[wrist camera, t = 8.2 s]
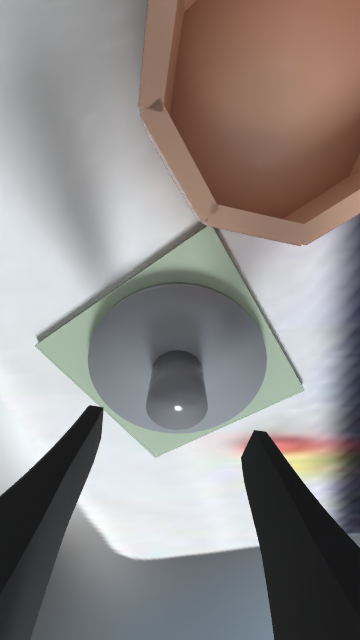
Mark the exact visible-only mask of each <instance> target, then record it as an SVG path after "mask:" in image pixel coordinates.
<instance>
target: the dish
mask: <svg viewBox="0 0 360 640" xmlns="http://www.w3.org/2000/svg"><path fill="white" fill-rule="evenodd" d="M138 107H139V110H140V112H141V114H140V117H141V119H142V121H143V124H144V126H145V129H146V131H147V133H148V136H149V138H150V140H151V142H152V143H153V145H154V147H155V148H156V150H157V152H158V154H159V155H160V157H161V159H162V160H163V162H164V164H165V166H166V167H167V169H168V171H169V172H170V174H171V176H172V178H173V180H174V182H175V184H176V186H177V187H178V189H179V190H180V192H181V193H182V195H183V196H184V198H185V200H186V202H187V203H188V205H189V207H190V209H191V210H192V212H193V214H194V215H195V217H196V219H197V220H198V221H200V222H201V223H202V224H204V225H206V226H210V227H214V228H219V229H224V230H228V231H233V232H237V233H242V234H246V235H251V236H256V237H260V238H265V239H269V240H274V241H278V242H283V243H288V244H292V245H297V246H301V244H303V245H308V244H309V243H311V242H313V241H314V240H316V239H318V238H319V237H321V236H323V235H324V234H326V233H328V232H329V231H331V230H333V229H334V228H336V227H338V226H339V225H341V224H343V223H344V222H346V221H348V220H349V219H351V218H353V217H354V216H356V215H358V214H359V213H360V0H148V9H147V19H146V30H145V40H144V50H143V61H142V71H141V82H140V92H139V102H138Z"/></svg>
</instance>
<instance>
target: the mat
mask: <svg viewBox="0 0 360 640" xmlns="http://www.w3.org/2000/svg"><path fill="white" fill-rule="evenodd" d="M169 282H185V283H193V284H199V285H202V286H206V287H210V288H212V289H214V290H217V291H219V292H221V293H223V294H225V295H227V296H228V297H230V298H232V299H233V300H234V301H235V302H237V303H238V304H239V305H240V306H241V307H242V308H243V309H244V310H245V311H246V312H247V313H248V314H249V316H250V317H251V318H252V320H253V321H254V323H255V324H256V326H257V327H258V329H259V331H260V333H261V335H262V337H263V340H264V344H265V347H266V354H267V368H266V373H265V377H264V380H263V383H262V386H261V387H260V389H259V391H258V393H257V395H256V396H255V397H254V399H253V400H252V402H251V403H250V404H249V405H248V406H247V407H246V408H245V409H244V410H243V411H241V412H240V413H239V414H238V415H236V416H235V417H233V418H232V419H230V420H229V421H227V422H225V423H223V424H221V425H218V426H216V427H213V428H211V429H207V430H204V431H199V432H193V433H183V434H172V433H162V432H157V431H152V430H148V429H145V428H142V427H139V426H137V425H134V424H132V423H130V422H129V421H127V420H125V419H123V418H122V417H120V416H119V415H117V414H116V413H115V412H114V411H113V410H111V409H110V408H109V407H108V406H107V405H106V404H105V402H104V401H103V400H102V399H101V397H100V396H99V395H98V393H97V391H96V389H95V387H94V386H93V383H92V380H91V378H90V374H89V369H88V351H89V345H90V342H91V339H92V336H93V334H94V332H95V330H96V328H97V326H98V325H99V323H100V322H101V321H102V319H103V318H104V316H105V315H106V314H107V312H108V311H109V310H110V309H111V308H112V307H113V306H114V305H115V304H116V303H118V302H119V301H120V300H122V299H123V298H124V297H126V296H128V295H129V294H131V293H133V292H135V291H137V290H140V289H142V288H145V287H148V286H152V285H156V284H161V283H169ZM35 347H36V348H37V349H38V350H40V351H41V352H42V353H43V354H44V355H45V356H46V357H47V358H48V359H49V360H50V361H51V362H53V363H54V364H55V365H56V366H57V367H58V368H59V369H60V370H61V371H62V372H63V373H64V374H65V375H67V376H68V377H69V378H70V379H71V380H72V381H73V382H74V383H75V384H76V385H77V386H78V387H80V388H81V389H82V390H83V391H84V392H85V393H86V394H87V395H88V396H89V397H90V398H91V399H92V400H94V401H95V402H96V403H97V404H98V405H99V406H100V407H104V409H103V410H104V411H105V412H107V413H108V414H109V415H110V416H111V417H112V418H113V419H114V420H115V421H116V422H117V423H118V424H120V425H121V426H122V427H123V428H124V429H125V430H126V431H127V432H128V433H129V434H130V435H131V436H132V437H134V438H135V439H136V440H137V441H138V442H139V443H140V444H141V445H142V446H143V447H144V448H145V449H147V450H148V451H149V452H150V453H151V454H152V455H153V456H154V457H155V458H156V457H158V456H160V455H162V454H164V453H167V452H169V451H171V450H173V449H176V448H178V447H180V446H182V445H184V444H187V443H189V442H191V441H193V440H196V439H198V438H200V437H202V436H204V435H207V434H209V433H211V432H213V431H215V430H218V429H220V428H222V427H224V426H227V425H229V424H231V423H233V422H235V421H238V420H240V419H242V418H244V417H247V416H249V415H251V414H253V413H255V412H258V411H260V410H262V409H264V408H267V407H269V406H271V405H273V404H275V403H278V402H280V401H282V400H284V399H287V398H289V397H291V396H293V395H295V394H298V393H300V392H302V391H304V388H303V386H302V385H301V383H300V381H299V379H298V378H297V376H296V374H295V372H294V370H293V369H292V367H291V365H290V363H289V362H288V360H287V358H286V356H285V354H284V353H283V351H282V349H281V347H280V346H279V344H278V342H277V340H276V339H275V337H274V335H273V333H272V331H271V330H270V328H269V326H268V324H267V323H266V321H265V319H264V317H263V315H262V314H261V312H260V310H259V308H258V307H257V305H256V303H255V301H254V299H253V298H252V296H251V294H250V292H249V291H248V289H247V287H246V285H245V283H244V282H243V280H242V278H241V276H240V275H239V273H238V271H237V269H236V268H235V266H234V264H233V262H232V260H231V259H230V257H229V255H228V253H227V252H226V250H225V248H224V246H223V244H222V243H221V241H220V239H219V237H218V236H217V234H216V232H215V230H214V228H213V227H210V226H206V227H204V228H203V229H201V230H200V231H198V232H197V233H196V234H194V235H193V236H191V237H190V238H188V239H187V240H185V241H184V242H183V243H181V244H180V245H178V246H177V247H175V248H174V249H172V250H171V251H170V252H168V253H167V254H165V255H164V256H162V257H161V258H160V259H158V260H157V261H155V262H154V263H152V264H151V265H149V266H148V267H147V268H145V269H144V270H142V271H141V272H139V273H138V274H136V275H135V276H134V277H132V278H131V279H129V280H128V281H126V282H125V283H124V284H122V285H121V286H119V287H118V288H116V289H115V290H113V291H112V292H111V293H109V294H108V295H106V296H105V297H103V298H102V299H100V300H99V301H98V302H96V303H95V304H93V305H92V306H90V307H89V308H88V309H86V310H85V311H83V312H82V313H80V314H79V315H77V316H76V317H75V318H73V319H72V320H70V321H69V322H67V323H66V324H64V325H63V326H62V327H60V328H59V329H57V330H56V331H54V332H53V333H52V334H50V335H49V336H47V337H46V338H44V339H43V340H41V341H40V342H39V343H37V344H36V345H35Z"/></svg>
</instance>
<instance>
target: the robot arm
mask: <svg viewBox="0 0 360 640" xmlns="http://www.w3.org/2000/svg"><path fill="white" fill-rule="evenodd" d="M103 409H104V407H98V406H91V405H90V406H88V407H87V408H86V410H85V411H84V412H83V414H82V415H81V416H80V417H79V418H78V420H77V421H76V422H75V423H74V424H73V426H72V427H71V428H70V429H69V430H68V431H67V432H66V433H65V435H64V436H63V437H62V438H61V439H60V440H59V441H58V442H57V443H56V444H55V445H54V446H53V447H52V448H51V449H50V450H49V451H48V452H47V453H46V454H45V455H44V456H43V457H42V458H41V459H40V460H39V461H38V462H37V463H36V464H35V465H34V466H33V467H32V468H31V469H30V470H29V471H28V472H27V473H26V474H25V475H24V476H23V477H21V478H20V479H19V480H18V481H17V482H16V483H15V484H14V485H12V486H11V487H10V488H9V489H8V490H7V491H6V492H5V493H3V494H2V495H1V496H0V640H30V638H31V635H32V632H33V628H34V626H35V622H36V619H37V616H38V613H39V610H40V607H41V603H42V600H43V597H44V594H45V591H46V587H47V585H48V582H49V579H50V576H51V572H52V569H53V566H54V563H55V560H56V557H57V554H58V551H59V548H60V545H61V542H62V539H63V536H64V533H65V531H66V528H67V525H68V523H69V520H70V518H71V515H72V513H73V511H74V508H75V506H76V503H77V501H78V499H79V496H80V494H81V491H82V489H83V487H84V484H85V482H86V479H87V477H88V475H89V472H90V470H91V467H92V465H93V462H94V459H95V456H96V453H97V450H98V446H99V443H100V440H101V433H102V421H103ZM241 461H242V470H243V477H244V483H245V487H246V491H247V496H248V500H249V504H250V508H251V512H252V516H253V520H254V524H255V528H256V532H257V536H258V540H259V545H260V550H261V554H262V559H263V566H264V572H265V578H266V584H267V591H268V597H269V604H270V611H271V617H272V625H273V633H274V640H360V548H359V547H358V546H357V544H356V543H355V542H354V541H353V540H352V539H351V538H350V537H349V536H348V535H347V534H346V533H345V531H344V530H343V529H342V528H341V527H340V526H339V525H338V524H337V523H336V521H335V520H334V519H333V518H332V517H331V516H330V515H329V513H328V512H327V511H326V510H325V509H324V508H323V506H322V505H321V504H320V503H319V501H318V500H317V499H316V498H315V497H314V495H313V494H312V493H311V492H310V490H309V489H308V488H307V487H306V485H305V484H304V483H303V481H302V480H301V479H300V477H299V476H298V475H297V473H296V472H295V471H294V469H293V468H292V467H291V465H290V464H289V463H288V461H287V460H286V459H285V457H284V456H283V454H282V453H281V452H280V450H279V449H278V447H277V446H276V445H275V443H274V442H273V440H272V439H271V438H270V436H269V435H268V434H267V432H263V431H256V430H254V432H253V434H252V436H251V438H250V440H249V442H248V444H247V446H246V448H245V450H244V453H243V455H242V457H241Z"/></svg>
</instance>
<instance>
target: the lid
mask: <svg viewBox="0 0 360 640" xmlns="http://www.w3.org/2000/svg"><path fill="white" fill-rule="evenodd" d="M266 368H267V354H266V347H265V344H264V340H263V337H262V335H261V333H260V331H259V329H258V327H257V326H256V324H255V323H254V321H253V320H252V318H251V317H250V316H249V314H248V313H247V312H246V311H245V310H244V309H243V308H242V307H241V306H240V305H239V304H238V303H237V302H235V301H234V300H233V299H232V298H230V297H228V296H227V295H225V294H223V293H221V292H219V291H217V290H214V289H212V288H210V287H206V286H202V285H199V284H193V283H185V282H169V283H161V284H156V285H152V286H148V287H145V288H142V289H140V290H137V291H135V292H133V293H131V294H129V295H128V296H126V297H124V298H123V299H122V300H120V301H119V302H118V303H116V304H115V305H114V306H113V307H112V308H111V309H110V310H109V311H108V312H107V314H106V315H105V316H104V318H103V319H102V321H101V322H100V323H99V325H98V326H97V328H96V330H95V332H94V334H93V336H92V339H91V342H90V345H89V351H88V369H89V374H90V378H91V380H92V383H93V386H94V387H95V389H96V391H97V393H98V395H99V396H100V397H101V399H102V400H103V401H104V402H105V404H106V405H107V406H108V407H109V408H110V409H111V410H113V411H114V412H115V413H116V414H117V415H119V416H120V417H122V418H123V419H125V420H127V421H129V422H130V423H132V424H134V425H137V426H139V427H142V428H145V429H148V430H152V431H157V432H162V433H172V434H183V433H193V432H199V431H204V430H207V429H211V428H213V427H216V426H218V425H221V424H223V423H225V422H227V421H229V420H230V419H232V418H233V417H235V416H236V415H238V414H239V413H240V412H241V411H243V410H244V409H245V408H246V407H247V406H248V405H249V404H250V403H251V402H252V400H253V399H254V397H255V396H256V395H257V393H258V391H259V389H260V387H261V386H262V383H263V380H264V377H265V373H266Z"/></svg>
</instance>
